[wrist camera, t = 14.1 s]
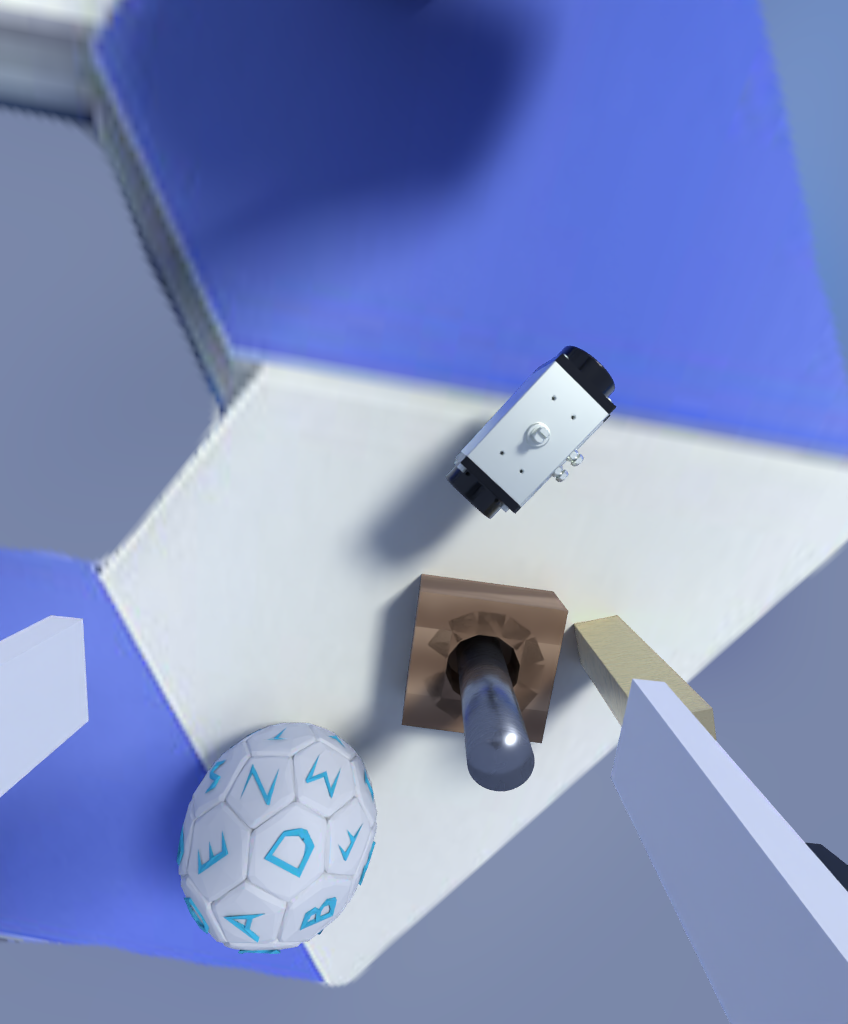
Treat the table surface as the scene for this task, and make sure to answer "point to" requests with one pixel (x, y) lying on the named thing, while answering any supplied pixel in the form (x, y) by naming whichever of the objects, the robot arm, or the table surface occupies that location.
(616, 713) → the square bit
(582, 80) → the table surface
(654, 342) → the table surface
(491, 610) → the bore block
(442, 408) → the table surface
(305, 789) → the puzzle ball
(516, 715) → the cylinder
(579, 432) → the pneumatic valve
